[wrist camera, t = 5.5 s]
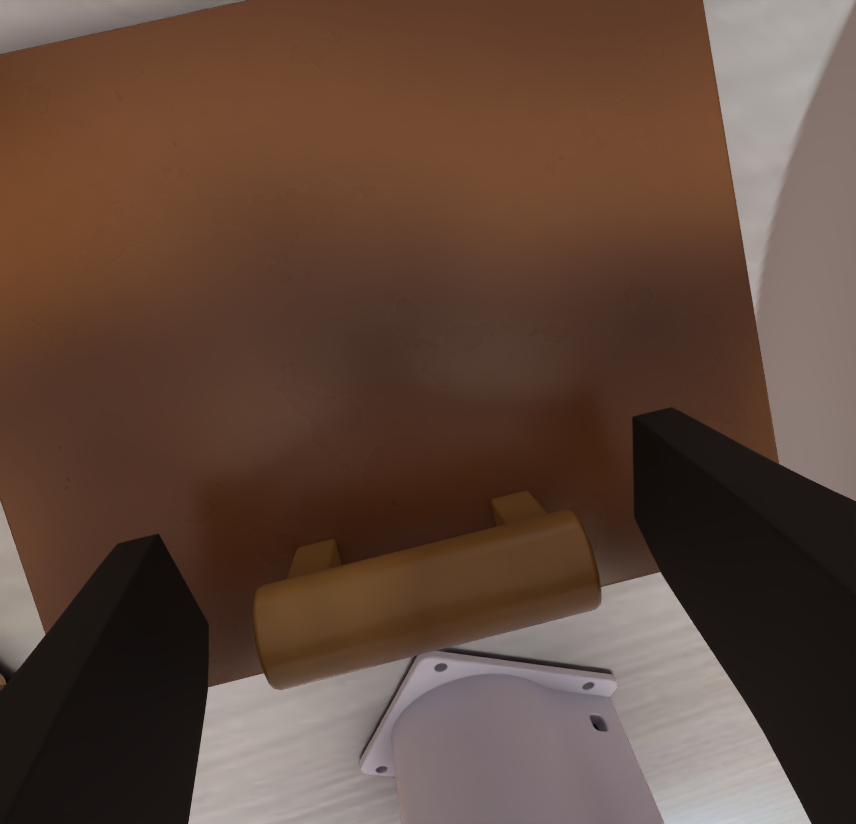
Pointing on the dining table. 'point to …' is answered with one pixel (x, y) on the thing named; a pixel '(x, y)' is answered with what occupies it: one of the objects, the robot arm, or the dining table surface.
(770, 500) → the robot arm
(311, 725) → the dining table surface
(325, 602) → the box lid
